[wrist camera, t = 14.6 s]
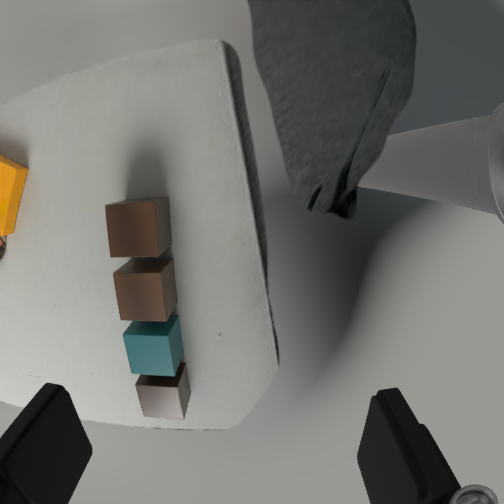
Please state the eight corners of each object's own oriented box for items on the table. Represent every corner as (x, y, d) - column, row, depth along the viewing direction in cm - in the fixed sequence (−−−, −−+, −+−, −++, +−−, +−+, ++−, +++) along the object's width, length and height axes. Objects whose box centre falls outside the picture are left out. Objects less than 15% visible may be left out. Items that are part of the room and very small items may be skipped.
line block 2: (173, 258, 31) (160, 272, 27) (177, 302, 32) (166, 321, 28) (130, 259, 31) (112, 273, 27) (136, 301, 32) (120, 320, 28)
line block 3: (185, 363, 34) (177, 387, 30) (190, 394, 35) (184, 420, 31) (146, 361, 34) (134, 384, 30) (153, 392, 35) (143, 416, 31)
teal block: (178, 315, 33) (168, 335, 28) (183, 352, 34) (175, 376, 29) (137, 314, 33) (122, 334, 28) (144, 351, 34) (131, 373, 29)
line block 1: (168, 196, 30) (154, 201, 25) (172, 244, 31) (159, 256, 26) (124, 200, 30) (104, 205, 25) (128, 245, 31) (110, 257, 27)
